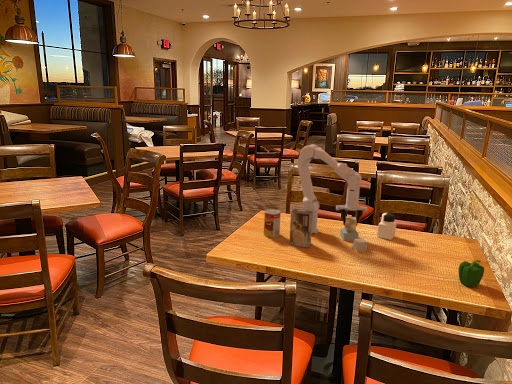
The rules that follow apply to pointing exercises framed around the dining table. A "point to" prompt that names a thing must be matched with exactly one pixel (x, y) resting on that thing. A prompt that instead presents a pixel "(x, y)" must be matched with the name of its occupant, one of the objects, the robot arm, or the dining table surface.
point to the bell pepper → (470, 273)
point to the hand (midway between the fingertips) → (350, 224)
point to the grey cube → (360, 245)
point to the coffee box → (300, 227)
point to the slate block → (348, 234)
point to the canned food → (272, 223)
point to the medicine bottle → (387, 226)
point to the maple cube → (350, 223)
